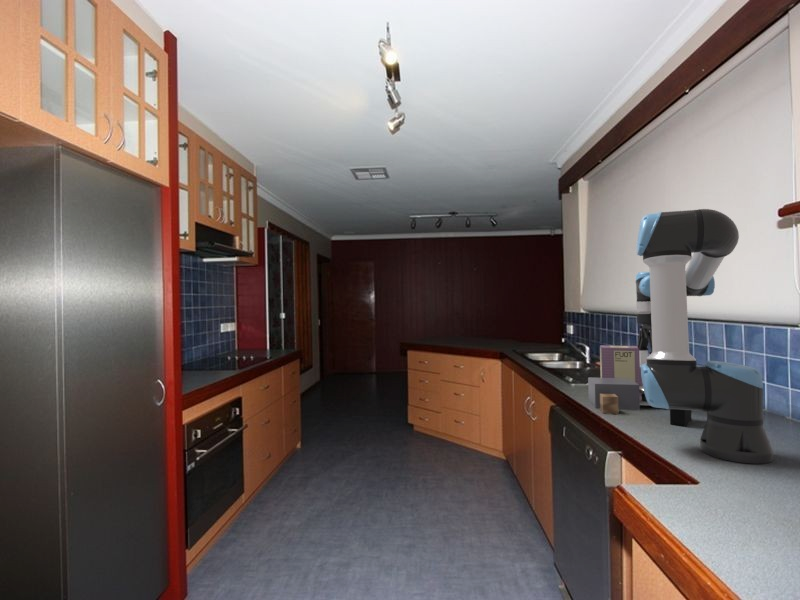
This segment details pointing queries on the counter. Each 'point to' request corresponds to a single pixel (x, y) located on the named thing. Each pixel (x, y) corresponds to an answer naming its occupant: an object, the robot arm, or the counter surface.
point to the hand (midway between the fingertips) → (649, 369)
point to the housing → (614, 391)
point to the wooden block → (609, 403)
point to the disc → (641, 390)
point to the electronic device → (680, 417)
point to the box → (621, 363)
